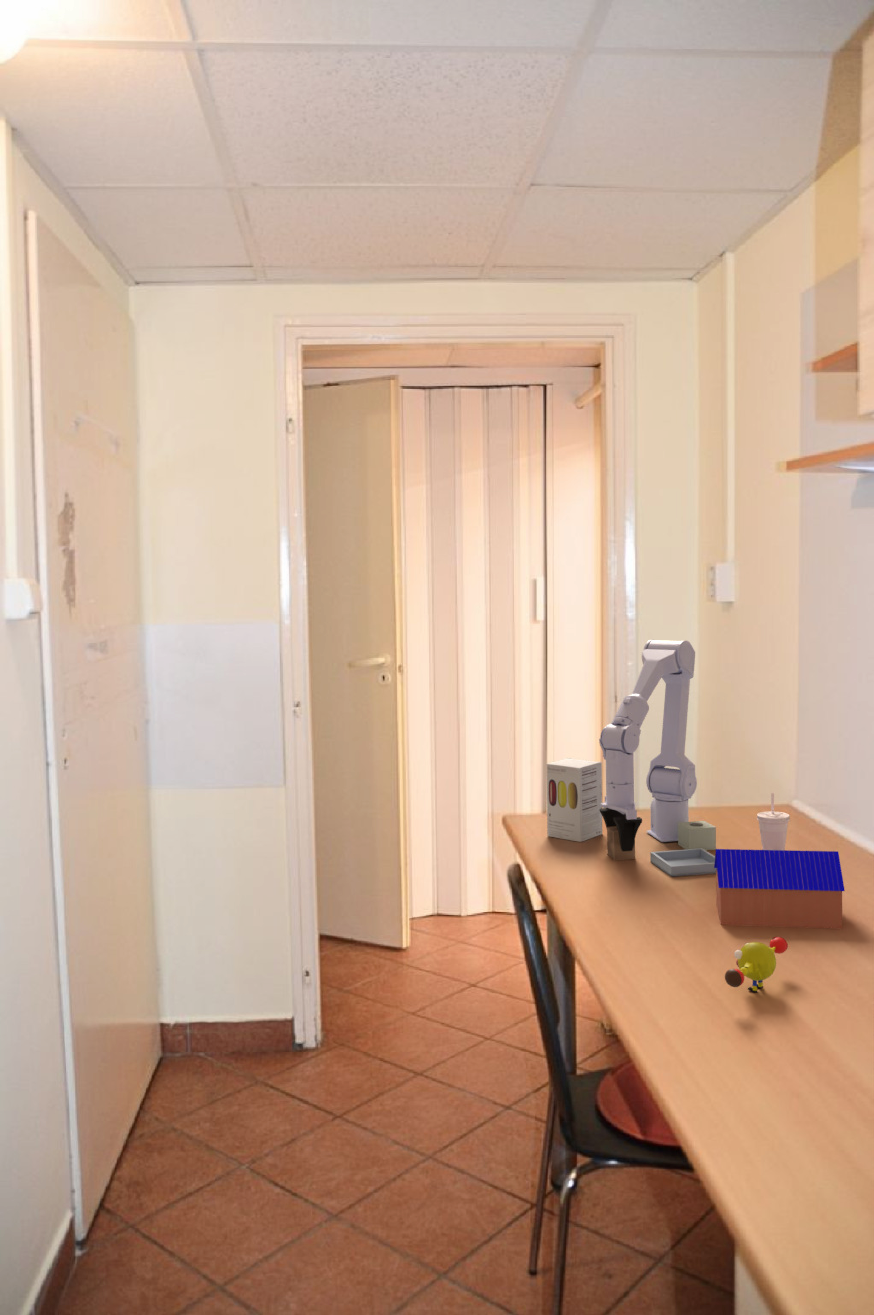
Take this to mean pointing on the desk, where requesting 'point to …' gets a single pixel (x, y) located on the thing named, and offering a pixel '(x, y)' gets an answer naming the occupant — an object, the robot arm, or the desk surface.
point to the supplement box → (574, 799)
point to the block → (617, 846)
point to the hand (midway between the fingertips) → (620, 846)
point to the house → (779, 888)
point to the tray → (684, 862)
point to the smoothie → (773, 828)
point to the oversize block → (697, 835)
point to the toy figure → (755, 962)
